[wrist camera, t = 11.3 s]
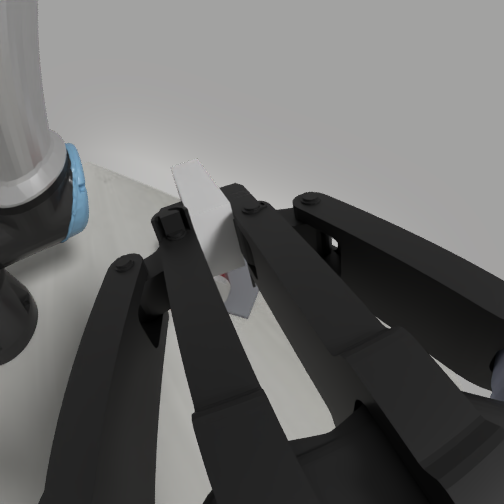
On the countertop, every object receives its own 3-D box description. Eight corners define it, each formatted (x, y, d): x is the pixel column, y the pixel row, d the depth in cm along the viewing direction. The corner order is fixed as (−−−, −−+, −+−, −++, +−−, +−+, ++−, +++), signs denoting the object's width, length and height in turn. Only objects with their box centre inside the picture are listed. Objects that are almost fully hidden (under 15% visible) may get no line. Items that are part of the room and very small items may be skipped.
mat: (134, 283, 46) (133, 281, 45) (169, 236, 54) (169, 234, 54) (247, 318, 43) (248, 317, 42) (270, 261, 51) (270, 259, 51)
